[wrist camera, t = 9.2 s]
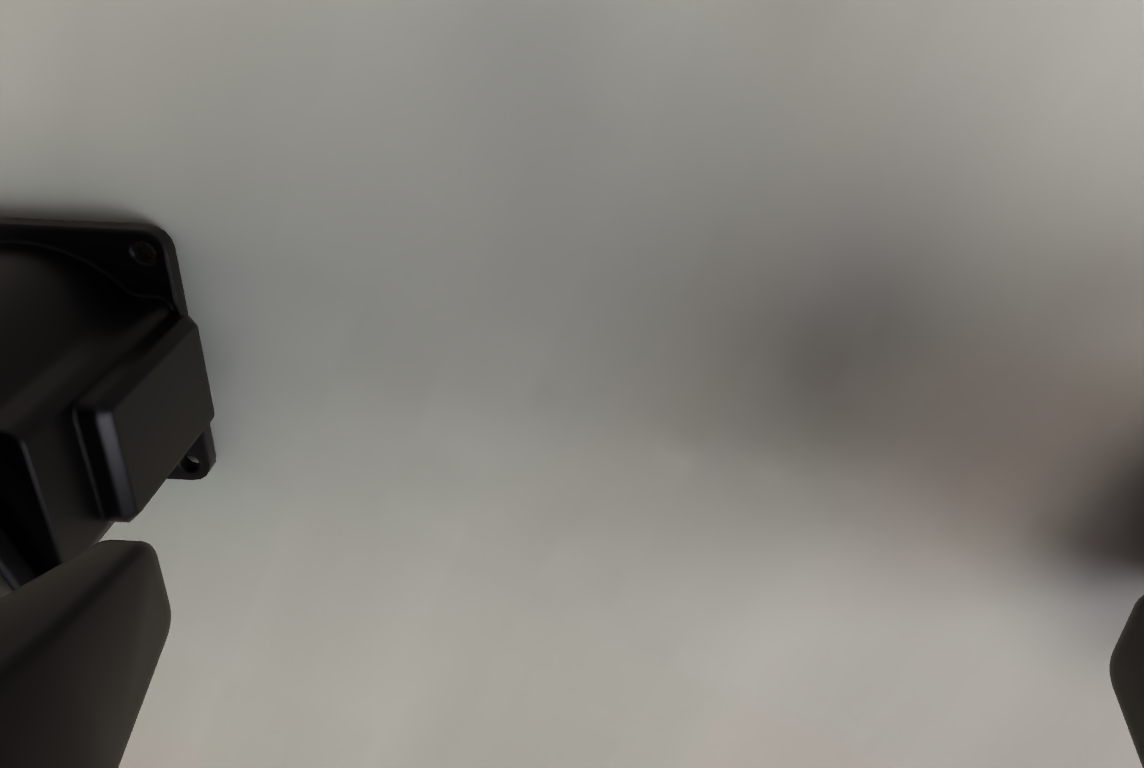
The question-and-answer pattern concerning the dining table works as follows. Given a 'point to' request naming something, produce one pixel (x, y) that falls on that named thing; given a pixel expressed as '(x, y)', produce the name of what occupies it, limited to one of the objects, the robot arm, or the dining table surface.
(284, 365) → the dining table surface
